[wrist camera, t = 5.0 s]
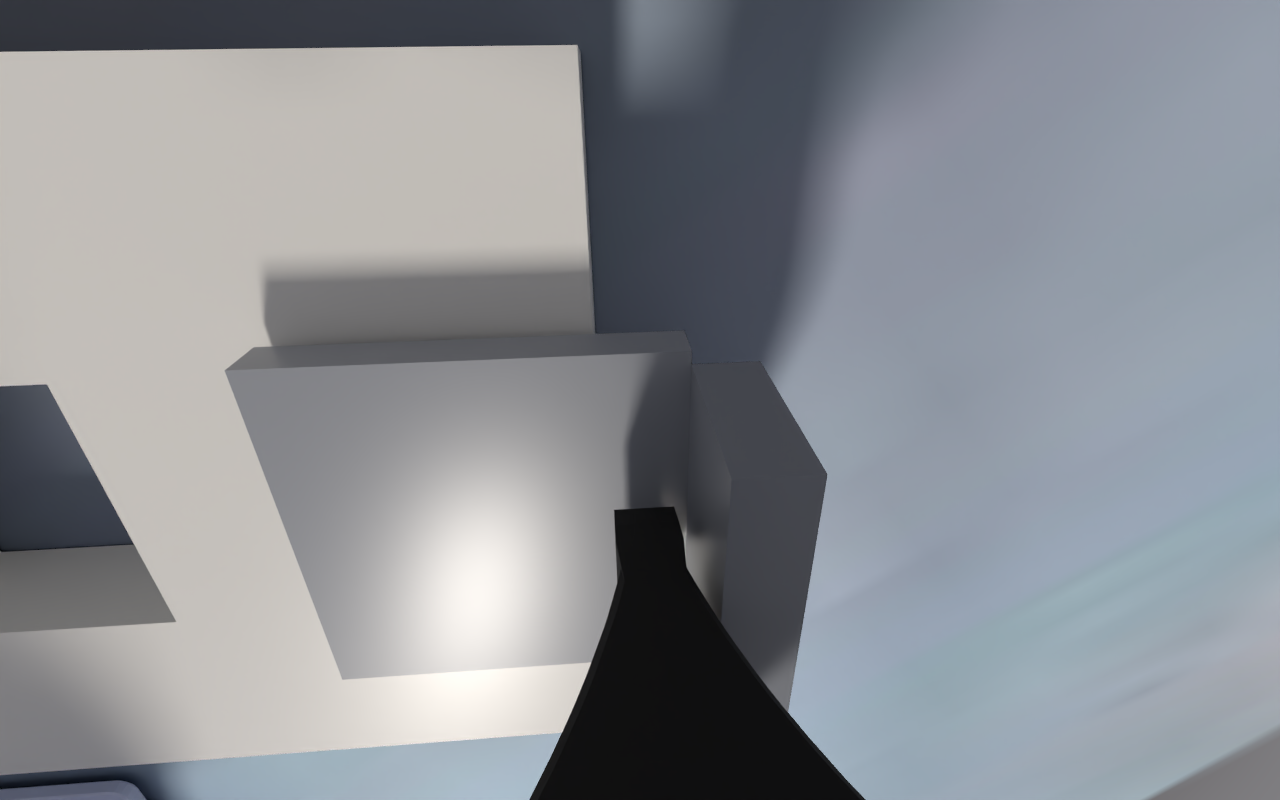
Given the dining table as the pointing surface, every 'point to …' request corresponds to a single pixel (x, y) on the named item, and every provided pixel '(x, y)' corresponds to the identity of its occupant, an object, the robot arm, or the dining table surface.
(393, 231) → the socket
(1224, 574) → the dining table surface
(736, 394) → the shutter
